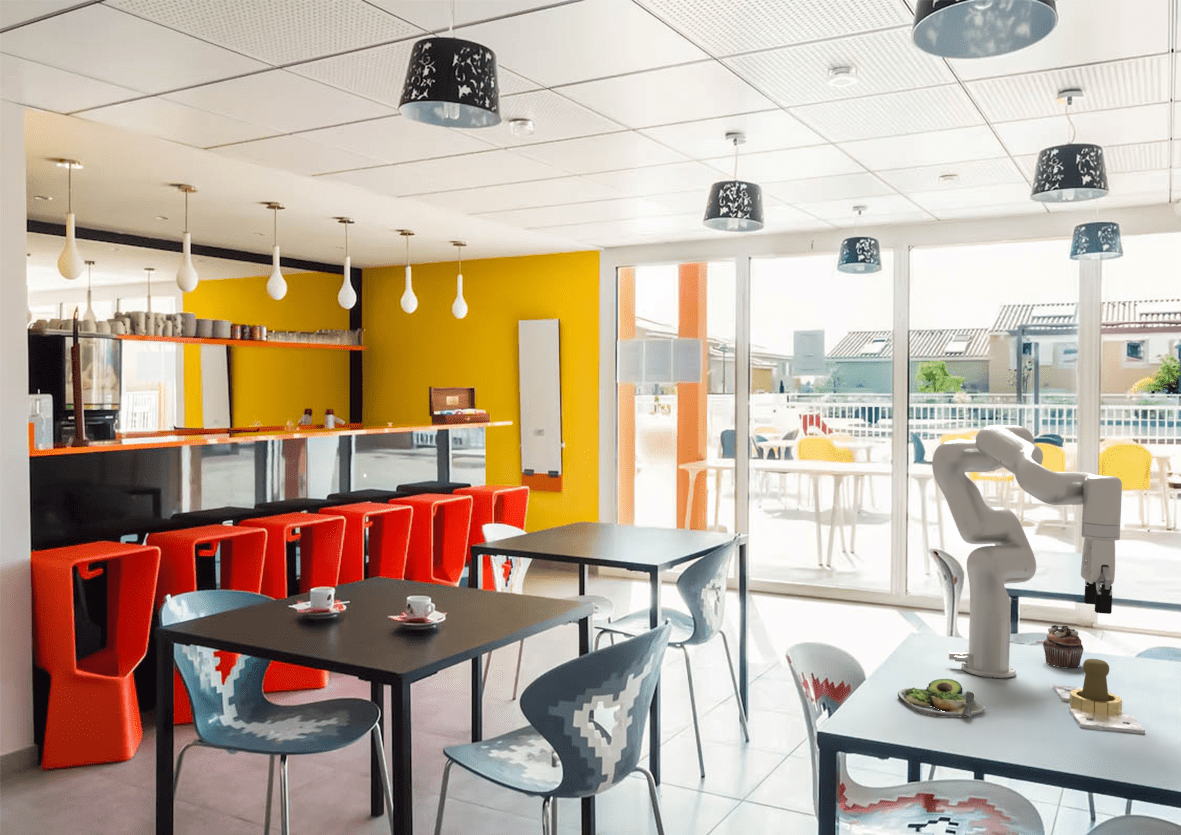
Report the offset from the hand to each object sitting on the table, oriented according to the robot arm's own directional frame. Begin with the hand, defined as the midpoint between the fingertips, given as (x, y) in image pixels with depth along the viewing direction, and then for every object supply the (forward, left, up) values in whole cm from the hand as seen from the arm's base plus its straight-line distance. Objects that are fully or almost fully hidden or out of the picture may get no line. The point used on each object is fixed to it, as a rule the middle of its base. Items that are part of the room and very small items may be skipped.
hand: (1097, 608), depth 215 cm
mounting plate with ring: (0, 0, -22) cm, 22 cm away
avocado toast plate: (-33, -8, -23) cm, 41 cm away
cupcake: (+1, +40, -23) cm, 46 cm away
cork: (0, 0, -23) cm, 23 cm away
